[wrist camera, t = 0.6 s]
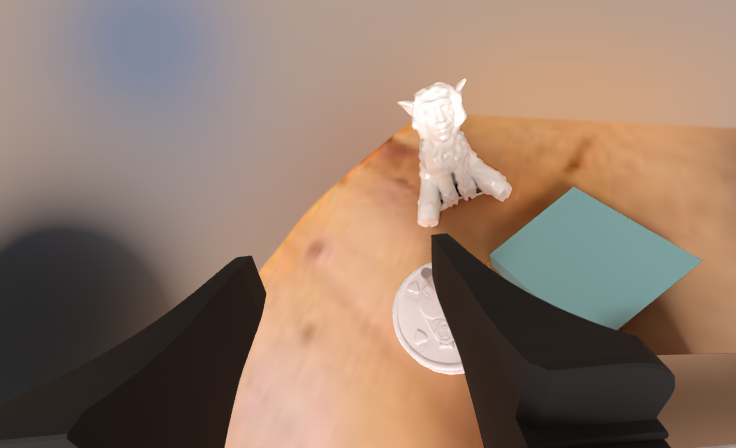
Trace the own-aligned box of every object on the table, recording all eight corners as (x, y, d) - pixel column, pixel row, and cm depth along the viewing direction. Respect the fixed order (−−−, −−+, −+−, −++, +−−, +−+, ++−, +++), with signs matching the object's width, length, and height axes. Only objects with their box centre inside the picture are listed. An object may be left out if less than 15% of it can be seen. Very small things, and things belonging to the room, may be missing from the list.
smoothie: (502, 301, 25) (492, 213, 14) (516, 388, 22) (517, 363, 11) (426, 304, 27) (366, 232, 16) (428, 384, 24) (356, 359, 13)
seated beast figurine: (422, 234, 31) (382, 156, 22) (402, 176, 36) (362, 93, 27) (514, 199, 29) (514, 97, 20) (479, 143, 34) (466, 41, 25)
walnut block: (745, 462, 16) (818, 477, 12) (637, 454, 18) (672, 466, 14) (697, 365, 19) (745, 353, 15) (606, 366, 21) (628, 355, 17)
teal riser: (685, 274, 21) (702, 260, 19) (586, 354, 21) (594, 348, 19) (569, 203, 27) (573, 186, 25) (491, 266, 27) (489, 254, 25)
